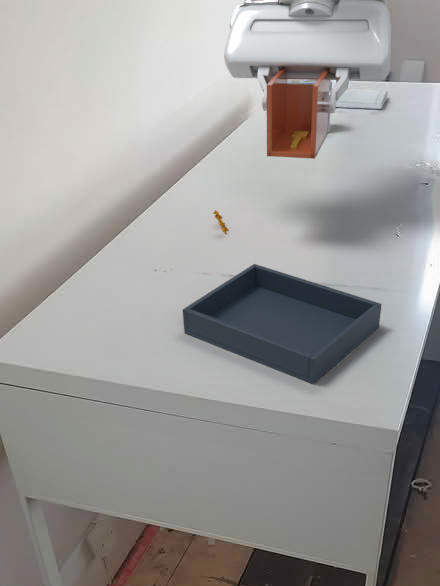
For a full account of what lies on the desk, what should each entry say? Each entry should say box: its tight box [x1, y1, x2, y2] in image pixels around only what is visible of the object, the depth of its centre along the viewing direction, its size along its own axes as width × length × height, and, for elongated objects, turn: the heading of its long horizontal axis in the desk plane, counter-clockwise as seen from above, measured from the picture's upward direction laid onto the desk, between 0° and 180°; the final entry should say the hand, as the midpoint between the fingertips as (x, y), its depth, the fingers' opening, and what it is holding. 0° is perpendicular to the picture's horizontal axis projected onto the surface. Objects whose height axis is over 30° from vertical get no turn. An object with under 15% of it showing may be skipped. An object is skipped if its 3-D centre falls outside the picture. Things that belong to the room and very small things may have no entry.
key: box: [290, 131, 309, 148], centre depth 90 cm, size 5×2×1 cm, turn 164°
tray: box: [182, 263, 382, 385], centre depth 79 cm, size 17×13×3 cm
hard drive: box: [332, 87, 389, 110], centre depth 143 cm, size 2×8×12 cm
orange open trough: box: [266, 68, 330, 160], centre depth 88 cm, size 9×6×8 cm, turn 164°
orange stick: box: [213, 209, 229, 235], centre depth 101 cm, size 8×1×1 cm, turn 11°
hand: (298, 109), depth 87 cm, fingers closed on orange open trough, 6 cm apart
